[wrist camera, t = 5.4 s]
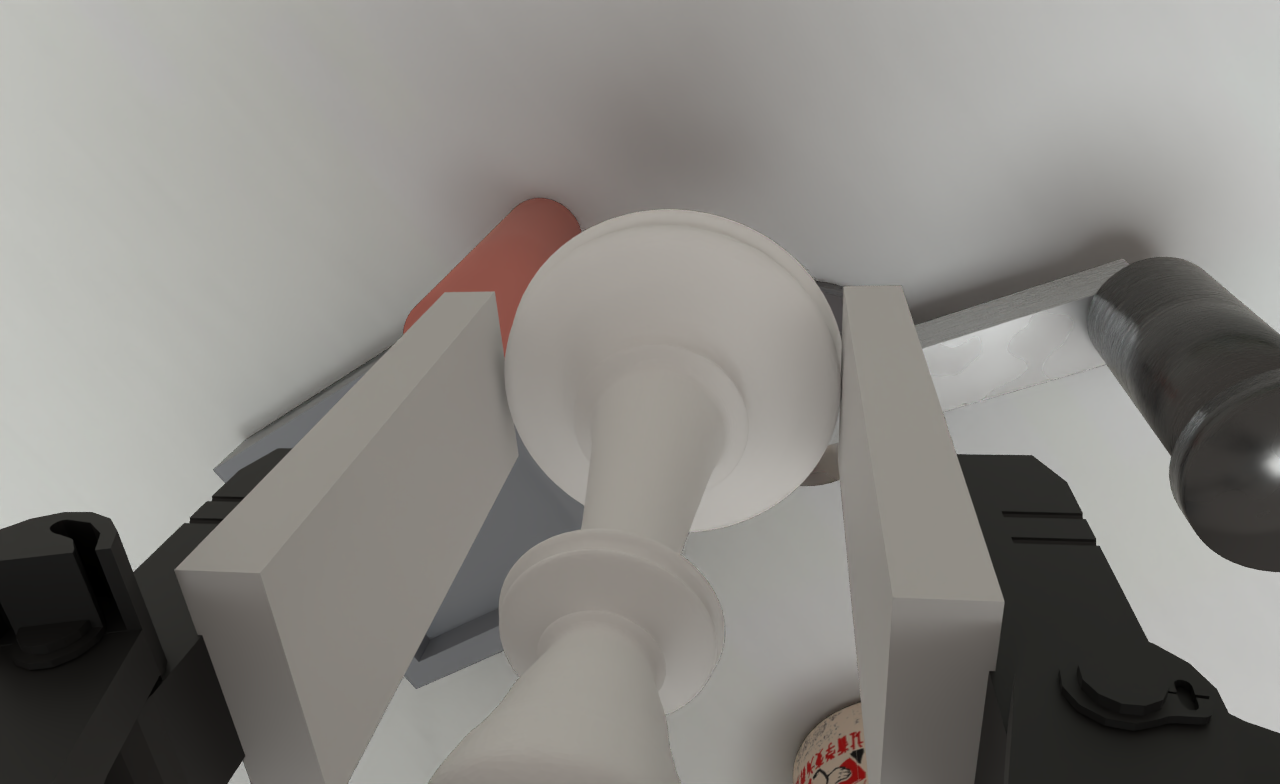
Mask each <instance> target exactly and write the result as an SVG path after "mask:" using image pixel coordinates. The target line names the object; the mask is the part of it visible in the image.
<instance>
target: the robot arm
mask: <svg viewBox="0 0 1280 784" xmlns="http://www.w3.org/2000/svg"><path fill="white" fill-rule="evenodd" d="M504 366H505V358H504V351H503V344H502V337H501V331H500V324H499V317H498V310H497V303H496V296H495V291H493V292H444V294H443V295H442V296H441V297H440V298H439V299H438V300H437V301H436V302H435V303H434V304H433V305H432V306H431V307H430V308H429V309H428V310H427V311H426V312H425V313H424V314H423V315H422V316H421V317H420V318H419V319H418V320H417V321H416V322H415V323H414V324H413V325H412V326H411V327H410V328H409V329H408V330H407V331H406V333H405V334H404V335H403V336H402V337H401V338H400V339H399V340H398V341H397V342H396V343H395V344H394V345H393V346H392V347H391V348H390V349H389V350H388V351H387V352H386V353H385V354H384V355H383V356H382V357H381V358H380V359H379V360H378V361H377V362H376V363H375V364H374V365H373V366H372V367H371V368H370V369H369V371H368V372H367V373H366V374H365V375H364V376H363V377H362V378H361V379H360V380H359V381H358V382H357V383H356V384H355V385H354V386H353V387H352V388H351V389H350V390H349V391H348V392H347V393H346V394H345V395H344V396H343V397H342V398H341V399H340V400H339V401H338V402H337V403H336V404H335V405H334V406H333V407H332V409H331V410H330V411H329V412H328V413H327V414H326V415H325V416H324V417H323V418H322V419H321V420H320V421H319V422H318V423H317V424H316V425H315V426H314V427H313V428H312V429H311V430H310V431H309V432H308V433H307V434H306V435H305V436H304V437H303V438H302V439H301V440H300V441H299V442H298V443H297V444H296V445H295V447H294V448H277V449H276V450H274V451H272V452H270V453H269V454H267V455H265V456H263V457H261V458H260V459H258V460H256V461H254V462H253V463H251V464H249V465H247V466H246V467H244V468H242V469H240V470H239V471H238V472H237V473H236V474H235V475H234V476H233V477H232V478H230V479H229V480H228V481H227V482H226V483H225V484H224V485H223V486H222V487H221V488H220V489H219V490H218V491H217V492H216V493H215V494H214V495H213V496H212V501H207V502H206V503H205V504H204V505H203V506H201V507H200V508H199V509H198V510H197V511H196V512H195V513H194V514H193V515H192V516H191V517H190V523H184V524H183V525H182V526H181V527H180V528H179V529H178V530H177V531H176V532H175V533H174V534H173V535H171V536H170V537H169V538H168V539H167V540H166V541H165V542H164V543H163V544H162V545H161V546H160V547H159V548H158V549H157V550H156V551H155V552H154V553H153V554H152V555H151V556H150V557H149V558H148V559H147V560H146V561H145V562H144V563H143V564H141V565H140V566H139V567H138V568H137V569H136V570H135V571H134V572H133V570H132V568H131V565H130V563H129V560H128V557H127V555H126V552H125V550H124V547H123V544H122V542H121V539H120V537H119V534H118V531H117V530H116V528H115V526H114V524H113V522H112V521H111V519H110V518H107V517H104V516H101V515H99V514H96V513H93V512H63V513H58V514H53V515H48V516H43V517H38V518H32V519H29V520H26V521H23V522H20V523H17V524H15V525H12V526H9V527H6V528H3V529H1V530H0V784H227V783H228V782H229V780H230V779H231V777H232V776H233V774H234V773H235V771H236V770H237V768H238V767H239V765H240V764H241V762H242V761H243V762H244V765H245V768H246V771H247V774H248V776H249V779H250V782H251V784H348V782H349V780H350V778H351V776H352V774H353V772H354V770H355V768H356V767H357V765H358V763H359V761H360V759H361V757H362V755H363V753H364V751H365V749H366V747H367V745H368V744H369V742H370V740H371V738H372V736H373V734H374V732H375V730H376V728H377V726H378V724H379V722H380V720H381V719H382V717H383V715H384V713H385V711H386V709H387V707H388V705H389V703H390V701H391V699H392V697H393V696H394V694H395V692H396V690H397V688H398V686H399V684H400V682H401V680H402V678H403V676H404V674H405V673H406V671H407V669H408V667H409V665H410V663H411V661H412V659H413V657H414V655H415V653H416V651H417V650H418V648H419V646H420V644H421V642H422V640H423V638H424V636H425V634H426V632H427V630H428V628H429V627H430V625H431V623H432V621H433V619H434V617H435V615H436V613H437V611H438V609H439V607H440V605H441V604H442V602H443V600H444V598H445V596H446V594H447V592H448V590H449V588H450V586H451V584H452V582H453V580H454V579H455V577H456V575H457V573H458V571H459V569H460V567H461V565H462V563H463V561H464V559H465V557H466V556H467V554H468V552H469V550H470V548H471V546H472V544H473V542H474V540H475V538H476V536H477V534H478V533H479V531H480V529H481V527H482V525H483V523H484V521H485V519H486V517H487V515H488V513H489V511H490V510H491V508H492V506H493V504H494V502H495V500H496V498H497V496H498V494H499V492H500V490H501V488H502V487H503V485H504V483H505V481H506V479H507V477H508V475H509V473H510V471H511V469H512V467H513V465H514V463H515V462H516V460H517V458H518V456H519V454H518V447H517V440H516V434H515V427H514V422H513V419H512V416H511V413H510V409H509V406H508V401H507V396H506V390H505V377H504ZM838 465H839V476H840V486H841V497H842V508H843V518H844V529H845V539H846V550H847V560H848V571H849V581H850V592H851V603H852V613H853V624H854V634H855V645H856V655H857V666H858V676H859V687H860V697H861V708H862V719H863V729H864V740H865V750H866V761H867V771H868V782H869V784H1280V733H1277V732H1274V731H1271V730H1268V729H1266V728H1263V727H1260V726H1257V725H1254V724H1251V723H1248V722H1245V721H1243V720H1241V719H1239V718H1237V717H1235V716H1233V715H1231V714H1229V713H1228V711H1227V709H1226V707H1225V705H1224V703H1223V701H1222V699H1221V697H1220V695H1219V692H1218V690H1217V689H1216V688H1215V687H1214V686H1213V685H1212V684H1211V683H1210V682H1209V681H1208V680H1207V679H1206V678H1204V677H1203V676H1202V675H1201V674H1200V673H1199V672H1198V671H1197V670H1196V669H1195V668H1194V667H1193V666H1192V665H1191V664H1189V663H1188V662H1186V661H1184V660H1182V659H1180V658H1179V657H1177V656H1175V655H1173V654H1171V653H1170V652H1168V651H1166V650H1164V649H1162V648H1160V647H1159V646H1157V645H1155V644H1153V643H1150V642H1149V641H1148V639H1147V638H1146V636H1145V634H1144V632H1143V630H1142V628H1141V626H1140V624H1139V622H1138V620H1137V618H1136V616H1135V614H1134V612H1133V610H1132V608H1131V606H1130V604H1129V602H1128V600H1127V599H1126V597H1125V595H1124V593H1123V591H1122V589H1121V587H1120V585H1119V583H1118V581H1117V579H1116V577H1115V575H1114V573H1113V571H1112V569H1111V567H1110V565H1109V563H1108V562H1107V560H1106V558H1105V556H1104V554H1103V552H1102V550H1101V548H1100V546H1096V538H1095V536H1094V534H1093V532H1092V530H1091V528H1090V526H1089V525H1088V523H1087V521H1086V519H1083V517H1082V515H1083V513H1082V511H1081V509H1080V507H1079V505H1078V503H1077V501H1076V499H1075V497H1074V495H1073V493H1072V491H1071V489H1070V487H1069V486H1068V484H1067V482H1066V481H1065V480H1063V479H1062V478H1061V477H1060V476H1058V475H1057V474H1056V473H1054V472H1053V471H1052V470H1050V469H1049V468H1048V467H1047V466H1045V465H1044V464H1043V463H1041V462H1040V461H1039V460H1038V459H1036V458H1035V457H1034V456H1032V455H966V454H956V451H955V448H954V445H953V442H952V439H951V436H950V433H949V430H948V427H947V424H946V421H945V417H944V414H943V411H942V408H941V405H940V402H939V399H938V396H937V393H936V390H935V387H934V384H933V381H932V378H931V375H930V372H929V368H928V365H927V362H926V359H925V356H924V353H923V350H922V347H921V344H920V341H919V338H918V335H917V332H916V329H915V326H914V323H913V319H912V316H911V313H910V310H909V307H908V304H907V301H906V298H905V295H904V292H903V289H902V286H901V285H890V286H844V288H843V320H842V351H841V400H840V414H839V445H838Z"/></svg>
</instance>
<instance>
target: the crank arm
mask: <svg viewBox="0 0 1280 784" xmlns="http://www.w3.org/2000/svg"><path fill="white" fill-rule="evenodd" d="M915 329H916V332H917V335H918V338H919V341H920V344H921V347H922V350H923V353H924V356H925V359H926V362H927V365H928V368H929V372H930V375H931V378H932V381H933V384H934V387H935V390H936V393H937V396H938V399H939V402H940V405H941V408H942V411H943V412H945V411H949V410H952V409H956V408H959V407H962V406H966V405H969V404H973V403H976V402H980V401H983V400H987V399H990V398H993V397H997V396H1000V395H1004V394H1007V393H1011V392H1014V391H1018V390H1021V389H1024V388H1028V387H1031V386H1035V385H1038V384H1042V383H1045V382H1048V381H1052V380H1055V379H1059V378H1062V377H1066V376H1069V375H1073V374H1076V373H1079V372H1083V371H1086V370H1090V369H1093V368H1097V367H1100V366H1104V365H1107V366H1108V367H1109V369H1110V370H1111V372H1112V373H1113V374H1114V376H1115V377H1116V379H1117V380H1118V382H1119V383H1120V384H1121V386H1122V387H1123V389H1124V390H1125V391H1126V393H1127V394H1128V396H1129V397H1130V399H1131V400H1132V401H1133V403H1134V404H1135V406H1136V407H1137V408H1138V410H1139V411H1140V413H1141V414H1142V416H1143V417H1144V418H1145V420H1146V421H1147V423H1148V424H1149V426H1150V427H1151V428H1152V430H1153V431H1154V433H1155V434H1156V435H1157V437H1158V438H1159V440H1160V441H1161V443H1162V444H1163V445H1164V447H1165V448H1166V450H1167V451H1168V452H1169V454H1170V455H1171V461H1170V467H1169V479H1170V486H1171V490H1172V493H1173V496H1174V499H1175V501H1176V503H1177V504H1178V506H1179V508H1180V510H1181V511H1182V513H1183V514H1184V516H1185V517H1186V519H1187V520H1188V522H1189V523H1190V525H1191V526H1192V528H1193V529H1194V531H1195V532H1196V534H1197V535H1198V536H1199V538H1200V539H1201V540H1202V541H1203V542H1204V543H1205V544H1206V545H1207V546H1208V547H1209V548H1210V549H1211V550H1213V551H1214V552H1216V553H1217V554H1218V555H1220V556H1221V557H1223V558H1225V559H1227V560H1229V561H1231V562H1233V563H1236V564H1239V565H1242V566H1245V567H1248V568H1253V569H1257V570H1263V571H1271V572H1280V334H1279V333H1277V332H1276V331H1275V330H1274V329H1273V328H1271V327H1270V326H1269V325H1268V324H1267V323H1266V322H1264V321H1263V320H1262V319H1261V318H1260V317H1258V316H1257V315H1256V314H1255V313H1254V312H1252V311H1251V310H1250V309H1249V308H1248V307H1247V306H1245V305H1244V304H1243V303H1242V302H1241V301H1239V300H1238V299H1237V298H1236V297H1235V296H1234V295H1232V294H1231V293H1230V292H1229V291H1228V290H1226V289H1225V288H1224V287H1223V286H1222V285H1221V284H1219V283H1218V282H1217V281H1216V280H1215V279H1213V278H1212V277H1211V276H1210V275H1209V274H1208V273H1206V272H1205V271H1204V270H1203V269H1201V268H1200V267H1199V266H1197V265H1195V264H1193V263H1191V262H1189V261H1186V260H1183V259H1179V258H1172V257H1156V258H1149V259H1145V260H1141V261H1138V262H1135V263H1133V264H1130V265H1129V264H1128V263H1127V262H1126V261H1125V260H1124V259H1123V258H1122V259H1119V260H1116V261H1113V262H1110V263H1107V264H1104V265H1100V266H1097V267H1094V268H1091V269H1088V270H1085V271H1082V272H1079V273H1076V274H1073V275H1070V276H1066V277H1063V278H1060V279H1057V280H1054V281H1051V282H1048V283H1045V284H1042V285H1039V286H1035V287H1032V288H1029V289H1026V290H1023V291H1020V292H1017V293H1014V294H1011V295H1008V296H1005V297H1001V298H998V299H995V300H992V301H989V302H986V303H983V304H980V305H977V306H974V307H970V308H967V309H964V310H961V311H958V312H955V313H952V314H949V315H946V316H943V317H940V318H936V319H933V320H930V321H927V322H924V323H921V324H918V325H915ZM839 332H840V331H839ZM840 336H841V341H842V332H840ZM839 414H840V408H839V413H838V418H837V422H836V425H835V428H834V432H833V435H832V437H831V439H830V442H829V444H828V446H827V448H826V450H825V452H824V454H823V456H822V457H821V459H820V461H819V462H818V464H817V465H816V467H815V468H814V469H813V471H812V472H811V473H810V474H809V476H808V477H807V478H806V479H805V480H804V481H803V482H802V483H801V484H800V486H815V485H823V484H827V483H832V482H835V481H837V480H840V476H839V465H838V445H839Z"/></svg>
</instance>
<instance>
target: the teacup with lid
mask: <svg viewBox="0 0 1280 784" xmlns="http://www.w3.org/2000/svg"><path fill="white" fill-rule="evenodd" d="M793 784H869V782H868V771H867V761H866V750H865V740H864V729H863V719H862V708H861V702H860V703H857V704H854V705H851V706H849V707H846V708H844V709H842V710H840V711H838V712H836V713H834V714H833V715H831V716H829V717H828V718H826V719H825V720H824V721H822V722H821V723H820V724H818V725H817V726H816V727H815V728H814V729H813V730H812V731H811V732H810V734H809V735H808V736H807V737H806V739H805V740H804V742H803V743H802V745H801V747H800V749H799V751H798V753H797V756H796V759H795V764H794V770H793Z"/></svg>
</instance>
